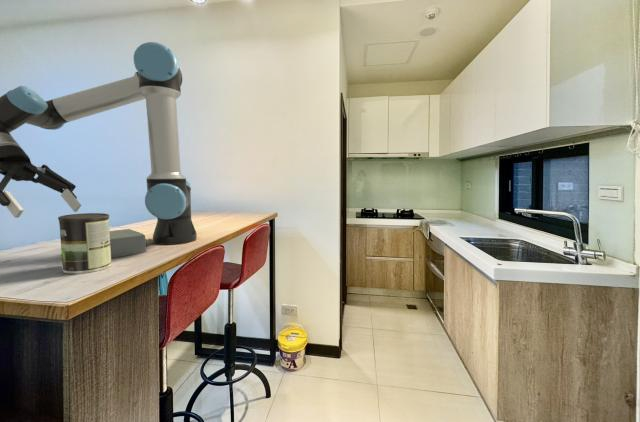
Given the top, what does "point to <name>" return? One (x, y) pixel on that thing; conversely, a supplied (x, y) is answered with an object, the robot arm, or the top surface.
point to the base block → (126, 242)
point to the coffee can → (85, 242)
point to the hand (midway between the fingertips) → (51, 211)
